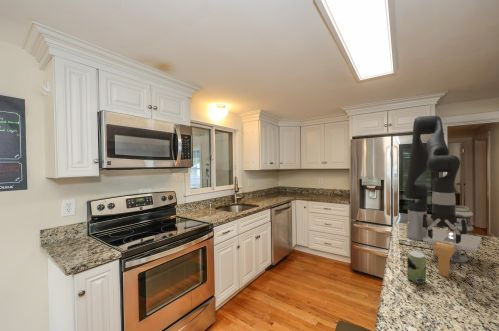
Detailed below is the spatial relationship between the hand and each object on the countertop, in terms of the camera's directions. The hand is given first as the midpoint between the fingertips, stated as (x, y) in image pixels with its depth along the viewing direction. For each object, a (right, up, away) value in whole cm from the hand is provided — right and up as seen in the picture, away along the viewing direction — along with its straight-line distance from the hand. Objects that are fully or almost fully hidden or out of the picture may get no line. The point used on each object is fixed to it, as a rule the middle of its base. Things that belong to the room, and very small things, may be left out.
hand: (443, 240), depth 95 cm
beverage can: (-15, -15, -4) cm, 22 cm away
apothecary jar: (+46, -12, +42) cm, 64 cm away
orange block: (+1, -14, +1) cm, 14 cm away
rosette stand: (+14, -13, +12) cm, 23 cm away
